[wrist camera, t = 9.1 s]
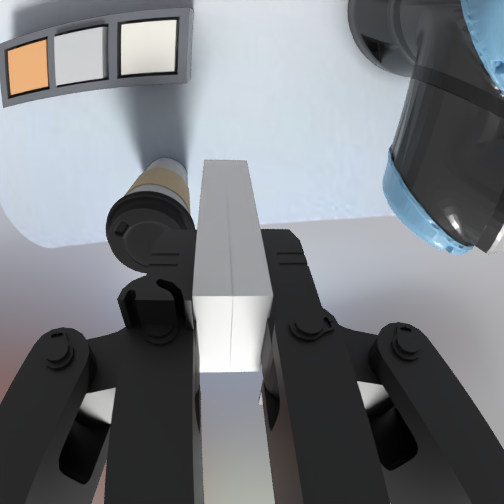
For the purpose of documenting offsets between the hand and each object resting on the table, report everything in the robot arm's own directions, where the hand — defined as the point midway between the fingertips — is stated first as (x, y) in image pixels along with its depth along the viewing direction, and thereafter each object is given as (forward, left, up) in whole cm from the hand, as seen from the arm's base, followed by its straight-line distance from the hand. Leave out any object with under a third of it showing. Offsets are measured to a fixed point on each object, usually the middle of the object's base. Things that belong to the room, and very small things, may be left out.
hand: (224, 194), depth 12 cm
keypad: (+16, -5, -29) cm, 34 cm away
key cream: (+8, -5, -27) cm, 29 cm away
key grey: (+16, -5, -26) cm, 31 cm away
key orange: (+24, -5, -27) cm, 36 cm away
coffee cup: (+7, +13, -30) cm, 33 cm away
